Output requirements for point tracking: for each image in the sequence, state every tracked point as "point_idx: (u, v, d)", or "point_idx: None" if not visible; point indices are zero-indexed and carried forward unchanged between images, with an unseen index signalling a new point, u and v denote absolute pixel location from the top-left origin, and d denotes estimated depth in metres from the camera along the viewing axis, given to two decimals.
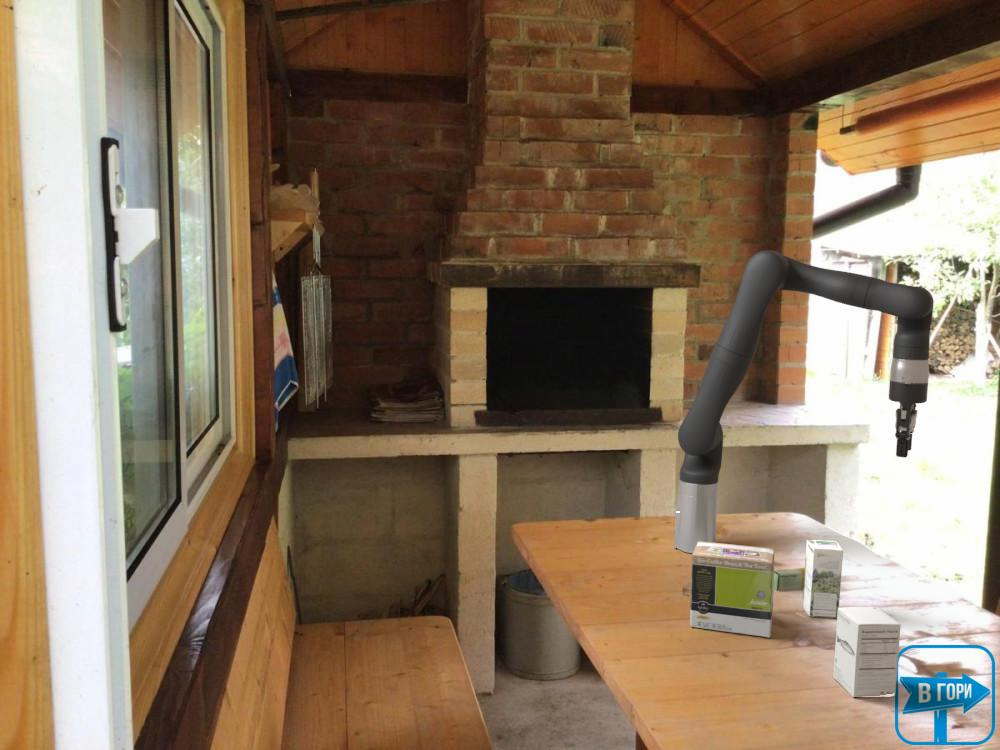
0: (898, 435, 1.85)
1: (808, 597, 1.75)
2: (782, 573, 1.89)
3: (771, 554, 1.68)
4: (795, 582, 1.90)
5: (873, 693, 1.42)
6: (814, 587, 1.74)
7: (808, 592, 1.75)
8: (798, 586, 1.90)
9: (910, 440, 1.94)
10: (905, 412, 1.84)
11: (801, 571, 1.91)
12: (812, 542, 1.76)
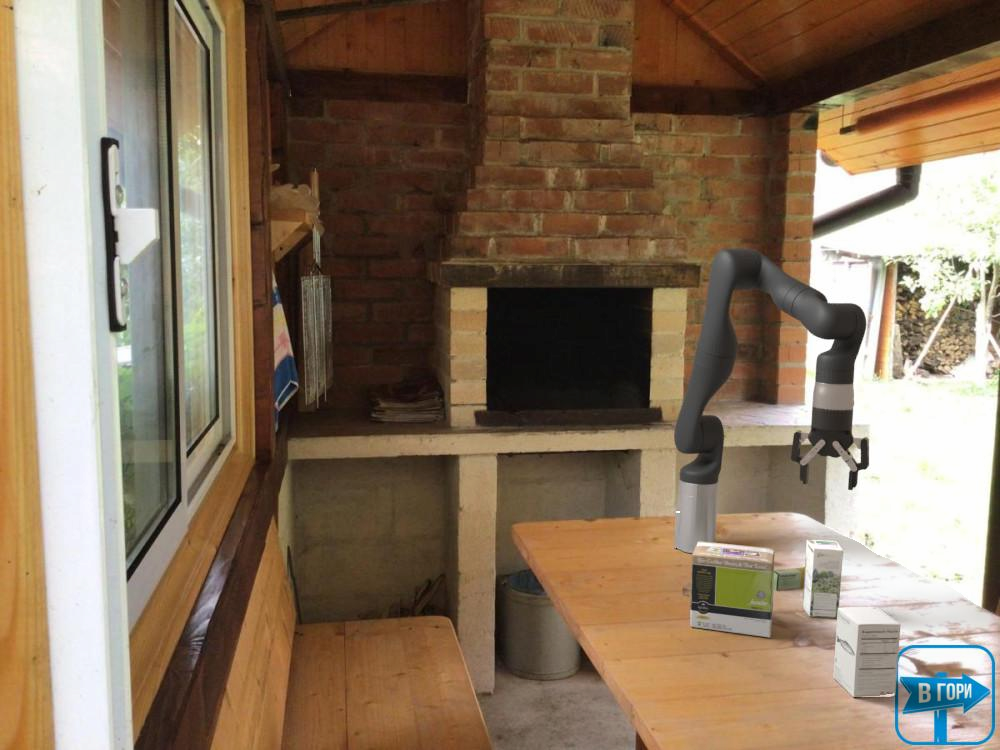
0: (867, 466, 1.69)
1: (808, 597, 1.75)
2: (781, 573, 1.89)
3: (771, 554, 1.68)
4: (794, 582, 1.90)
5: (873, 693, 1.42)
6: (814, 587, 1.74)
7: (808, 592, 1.75)
8: (797, 585, 1.91)
9: (808, 471, 1.76)
10: (868, 440, 1.70)
11: (800, 570, 1.91)
12: (812, 542, 1.76)
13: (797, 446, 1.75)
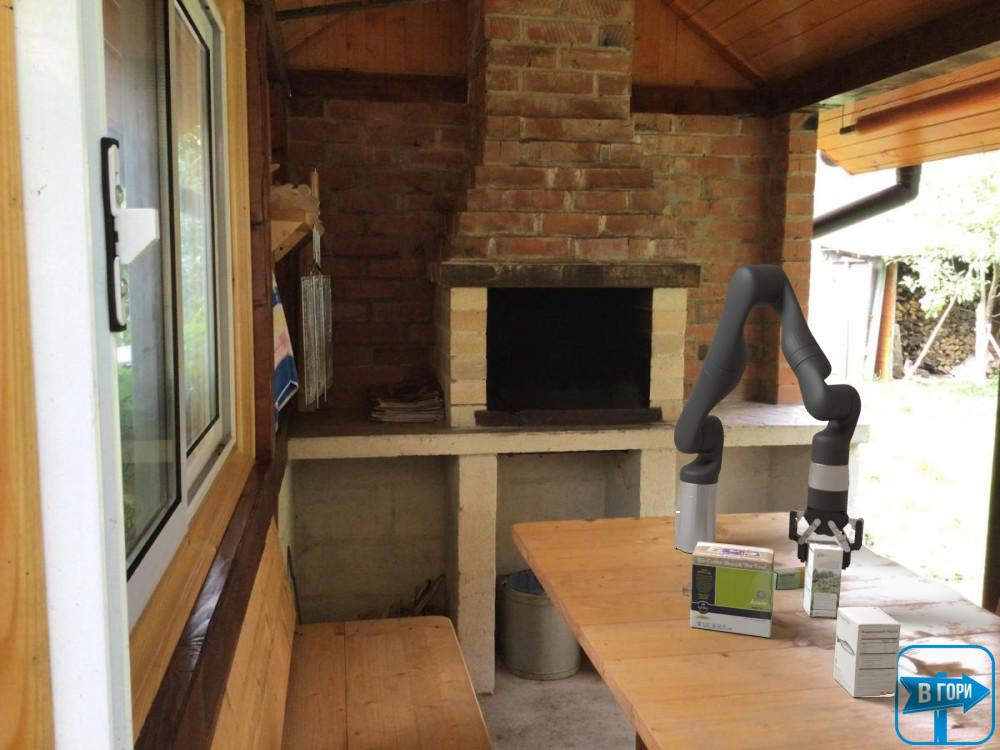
0: (860, 547, 1.71)
1: (808, 597, 1.75)
2: (780, 572, 1.90)
3: (771, 554, 1.68)
4: (793, 581, 1.91)
5: (873, 693, 1.42)
6: (814, 587, 1.74)
7: (808, 592, 1.75)
8: (796, 585, 1.91)
9: None
10: (863, 521, 1.72)
11: (799, 570, 1.91)
12: (812, 542, 1.76)
13: (794, 525, 1.77)
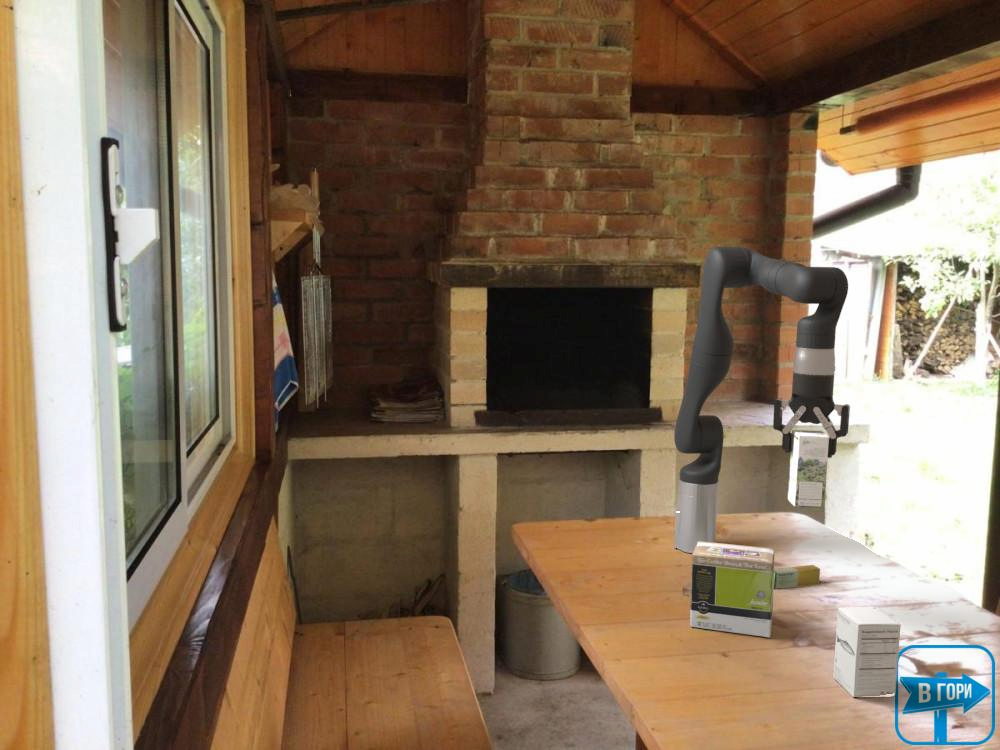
0: (846, 433, 1.67)
1: (793, 487, 1.71)
2: (779, 571, 1.90)
3: (771, 554, 1.68)
4: (792, 580, 1.91)
5: (873, 693, 1.42)
6: (799, 475, 1.69)
7: (793, 482, 1.71)
8: (794, 584, 1.92)
9: (790, 440, 1.74)
10: (849, 407, 1.67)
11: (797, 569, 1.92)
12: (797, 431, 1.71)
13: (778, 414, 1.72)
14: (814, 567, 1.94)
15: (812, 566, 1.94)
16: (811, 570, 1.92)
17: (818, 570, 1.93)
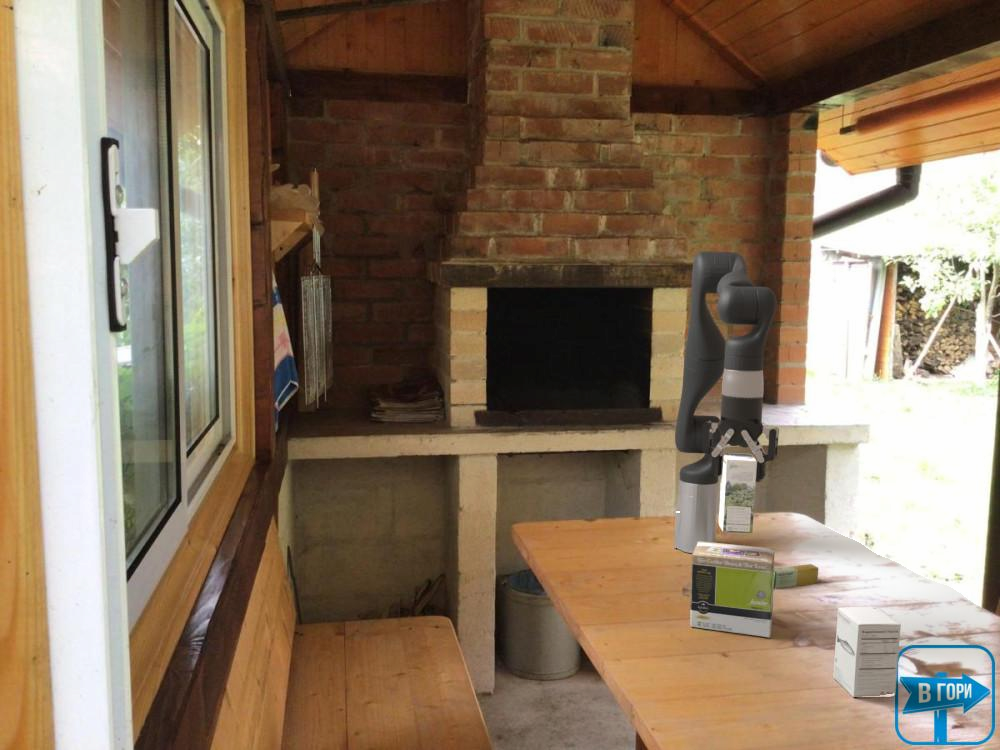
0: None
1: (722, 512, 1.67)
2: (778, 571, 1.90)
3: (771, 554, 1.68)
4: (791, 580, 1.91)
5: (873, 693, 1.42)
6: (727, 500, 1.65)
7: (722, 506, 1.67)
8: (793, 583, 1.92)
9: None
10: (777, 430, 1.63)
11: (796, 568, 1.92)
12: (726, 454, 1.67)
13: (707, 437, 1.68)
14: (812, 566, 1.94)
15: (810, 565, 1.95)
16: (810, 569, 1.93)
17: (816, 569, 1.94)
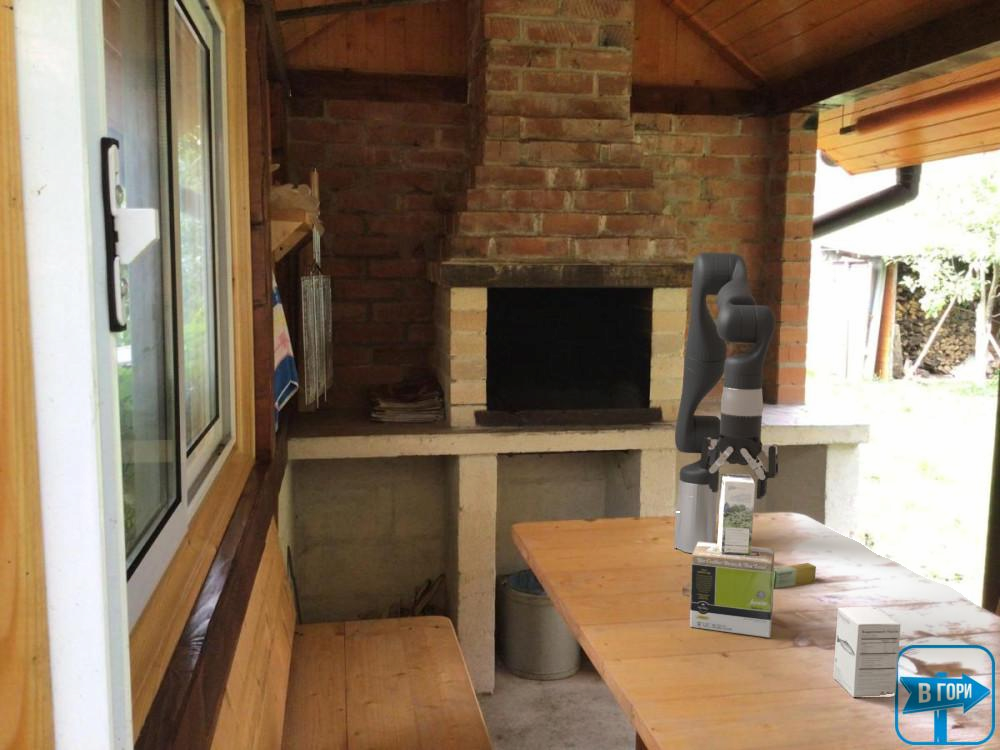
0: (775, 474, 1.63)
1: (720, 533, 1.68)
2: (778, 571, 1.91)
3: (771, 554, 1.68)
4: (790, 579, 1.92)
5: (873, 693, 1.42)
6: (726, 521, 1.66)
7: (720, 527, 1.68)
8: (792, 583, 1.92)
9: (718, 479, 1.70)
10: (776, 447, 1.64)
11: (795, 568, 1.93)
12: (725, 475, 1.68)
13: (706, 453, 1.69)
14: (810, 565, 1.95)
15: (808, 564, 1.95)
16: (808, 568, 1.94)
17: (814, 568, 1.94)
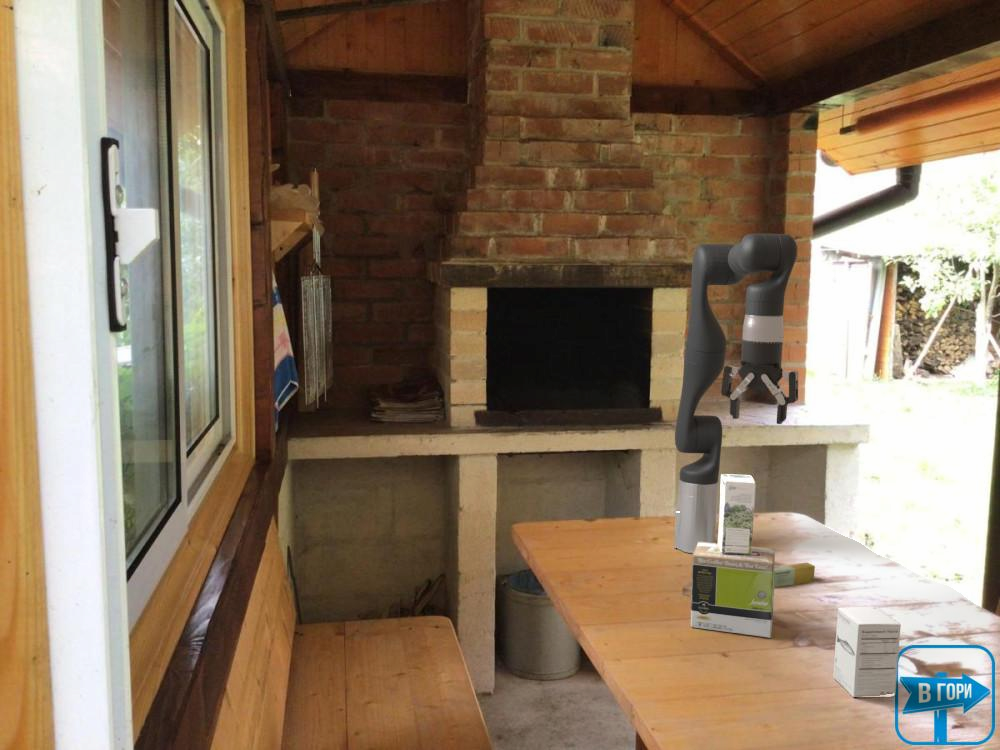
0: (795, 399, 1.67)
1: (721, 533, 1.68)
2: (776, 570, 1.91)
3: (771, 554, 1.68)
4: (788, 579, 1.92)
5: (873, 693, 1.42)
6: (726, 521, 1.66)
7: (721, 527, 1.68)
8: (791, 582, 1.93)
9: (739, 406, 1.74)
10: (796, 373, 1.67)
11: (793, 567, 1.93)
12: (725, 475, 1.68)
13: (727, 380, 1.73)
14: (809, 565, 1.95)
15: (807, 564, 1.96)
16: (807, 568, 1.94)
17: (813, 568, 1.95)
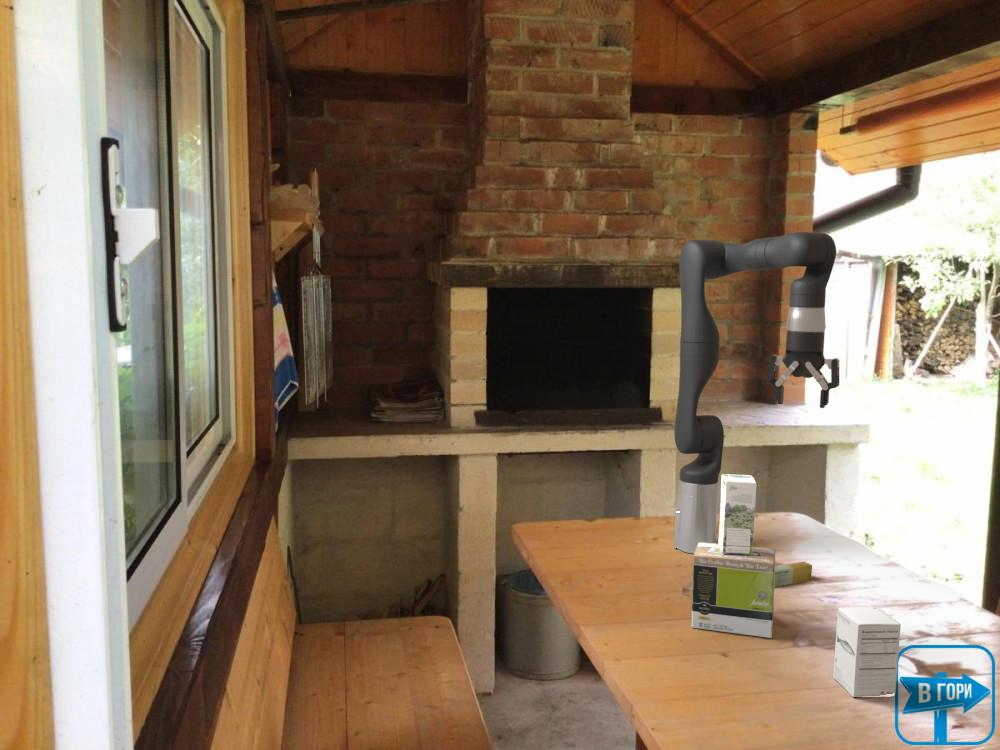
0: (837, 385, 1.81)
1: (721, 533, 1.67)
2: (775, 570, 1.91)
3: (772, 554, 1.67)
4: (787, 578, 1.93)
5: (873, 693, 1.42)
6: (727, 522, 1.66)
7: (722, 528, 1.67)
8: (789, 581, 1.93)
9: (783, 392, 1.88)
10: (838, 360, 1.81)
11: (791, 566, 1.94)
12: (726, 476, 1.68)
13: (773, 368, 1.87)
14: (806, 564, 1.96)
15: (804, 563, 1.96)
16: (804, 567, 1.94)
17: (810, 566, 1.95)
